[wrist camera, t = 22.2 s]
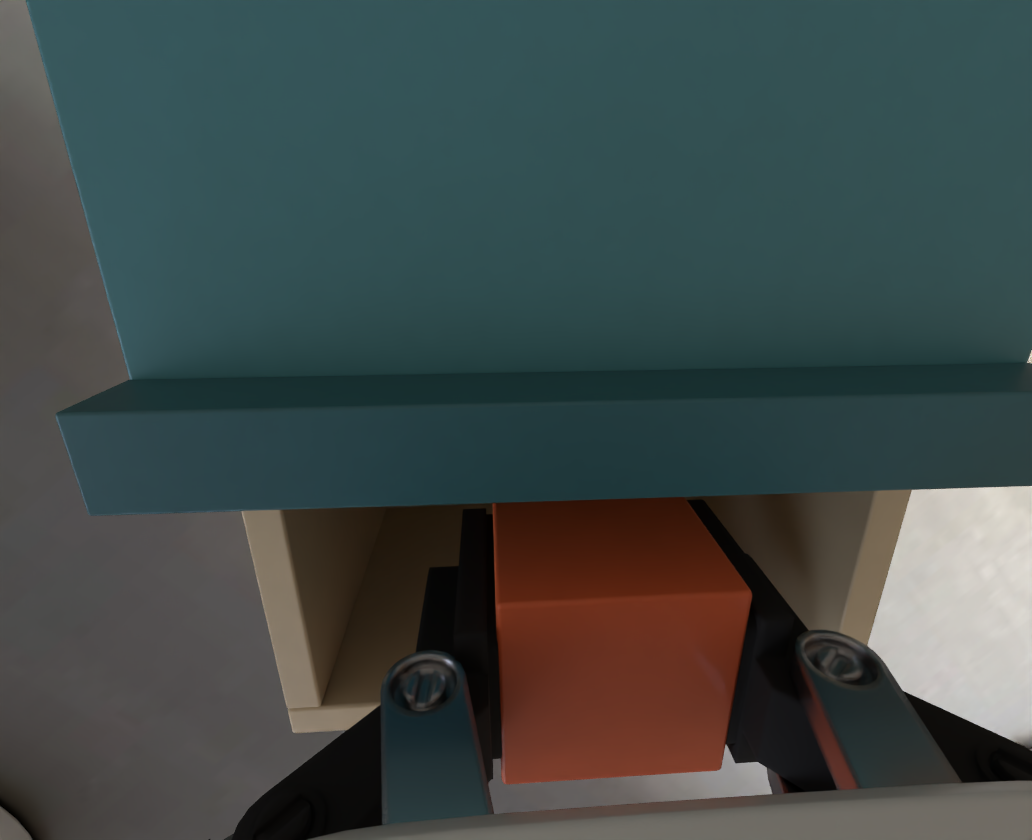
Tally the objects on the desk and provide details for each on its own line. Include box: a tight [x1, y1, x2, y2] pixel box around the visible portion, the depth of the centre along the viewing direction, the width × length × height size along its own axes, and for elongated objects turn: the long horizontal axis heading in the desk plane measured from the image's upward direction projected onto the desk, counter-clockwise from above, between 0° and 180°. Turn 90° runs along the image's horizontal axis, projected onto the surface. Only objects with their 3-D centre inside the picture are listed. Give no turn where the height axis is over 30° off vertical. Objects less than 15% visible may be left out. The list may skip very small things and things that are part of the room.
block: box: [493, 497, 752, 784], centre depth 11 cm, size 4×4×4 cm
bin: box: [242, 490, 911, 733], centre depth 14 cm, size 18×14×10 cm
